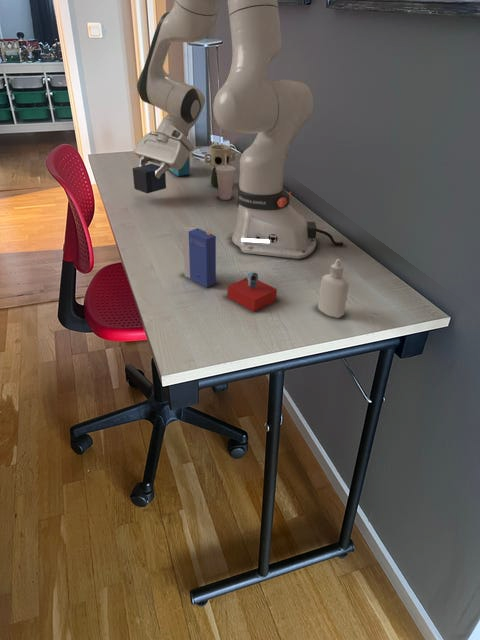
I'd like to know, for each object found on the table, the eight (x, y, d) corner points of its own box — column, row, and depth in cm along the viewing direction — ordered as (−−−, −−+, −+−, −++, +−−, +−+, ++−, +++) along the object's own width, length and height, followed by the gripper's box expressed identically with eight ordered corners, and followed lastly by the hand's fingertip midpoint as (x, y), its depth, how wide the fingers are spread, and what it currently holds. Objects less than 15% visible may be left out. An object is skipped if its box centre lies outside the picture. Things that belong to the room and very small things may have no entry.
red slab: (227, 297, 109) (227, 271, 105) (249, 287, 113) (250, 261, 110) (254, 311, 104) (255, 284, 101) (275, 300, 108) (277, 274, 105)
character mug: (208, 189, 169) (207, 150, 162) (201, 183, 175) (201, 145, 168) (238, 187, 173) (239, 148, 166) (231, 180, 178) (231, 143, 171)
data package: (167, 168, 189) (165, 135, 183) (178, 167, 191) (177, 134, 185) (178, 177, 180) (177, 143, 174) (190, 176, 182) (189, 142, 176)
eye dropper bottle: (334, 304, 107) (342, 252, 101) (346, 317, 103) (354, 265, 96) (315, 306, 106) (322, 254, 100) (326, 320, 102) (333, 267, 95)
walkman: (216, 283, 114) (215, 234, 107) (206, 287, 112) (206, 237, 106) (193, 272, 119) (192, 224, 112) (184, 275, 117) (182, 227, 110)
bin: (147, 193, 153) (145, 172, 149) (134, 188, 156) (132, 168, 153) (166, 188, 158) (164, 167, 154) (153, 183, 161) (151, 163, 158)
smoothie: (236, 195, 166) (236, 151, 158) (233, 201, 160) (234, 157, 153) (216, 194, 166) (216, 150, 158) (214, 200, 161) (213, 156, 153)
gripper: (143, 124, 158) (120, 161, 157) (186, 135, 147) (162, 175, 146) (155, 137, 164) (133, 173, 163) (198, 148, 152) (175, 187, 151)
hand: (147, 174), depth 154 cm, fingers closed on bin, 6 cm apart
